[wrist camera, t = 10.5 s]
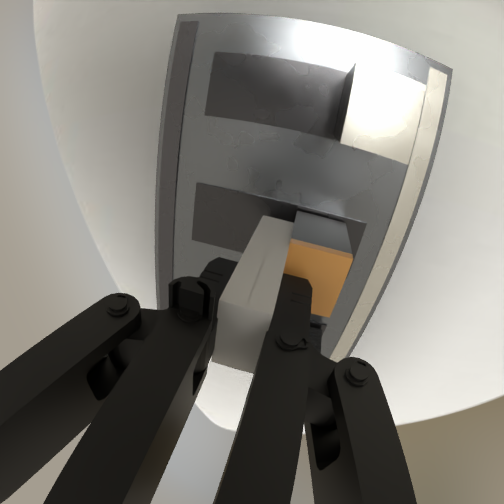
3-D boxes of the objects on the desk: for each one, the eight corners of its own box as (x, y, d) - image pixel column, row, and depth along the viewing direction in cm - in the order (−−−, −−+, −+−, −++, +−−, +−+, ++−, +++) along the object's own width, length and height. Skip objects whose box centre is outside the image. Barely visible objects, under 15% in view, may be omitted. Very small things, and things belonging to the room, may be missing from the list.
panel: (193, 23, 12) (135, -7, 7) (437, 73, 10) (493, 60, 5) (169, 320, 23) (136, 371, 18) (333, 364, 21) (330, 426, 16)
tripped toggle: (297, 210, 14) (289, 242, 11) (345, 223, 14) (353, 258, 10) (284, 262, 15) (273, 304, 12) (328, 273, 15) (329, 317, 12)
